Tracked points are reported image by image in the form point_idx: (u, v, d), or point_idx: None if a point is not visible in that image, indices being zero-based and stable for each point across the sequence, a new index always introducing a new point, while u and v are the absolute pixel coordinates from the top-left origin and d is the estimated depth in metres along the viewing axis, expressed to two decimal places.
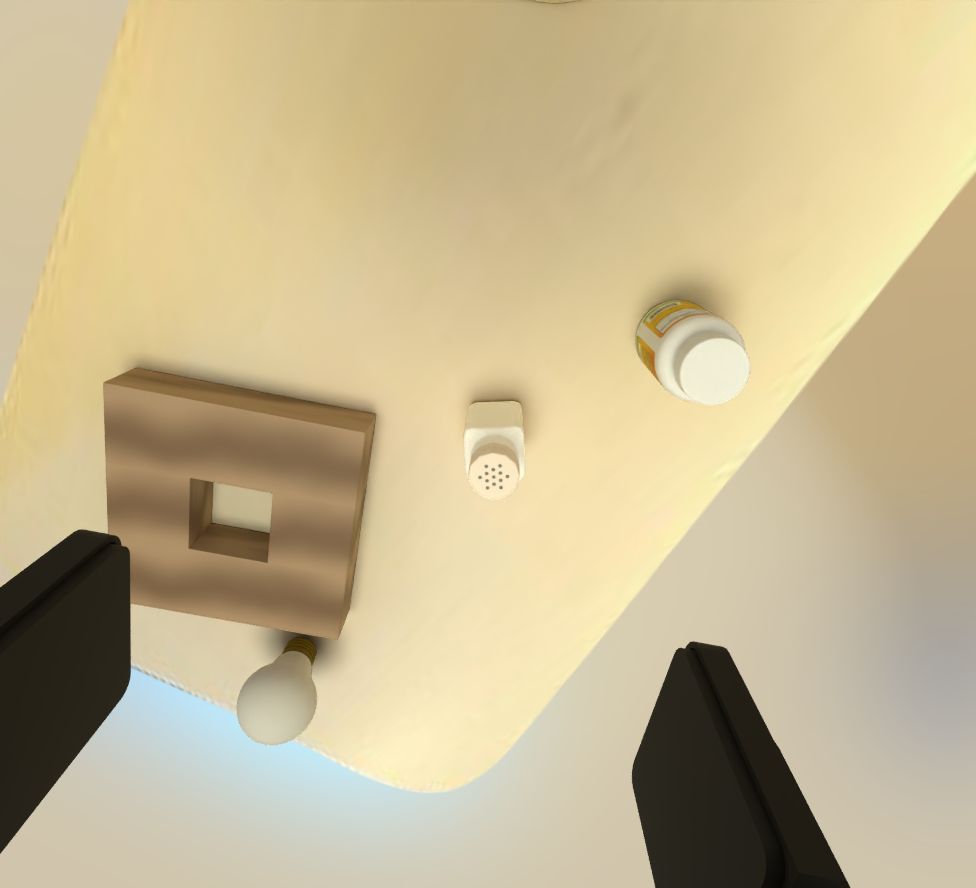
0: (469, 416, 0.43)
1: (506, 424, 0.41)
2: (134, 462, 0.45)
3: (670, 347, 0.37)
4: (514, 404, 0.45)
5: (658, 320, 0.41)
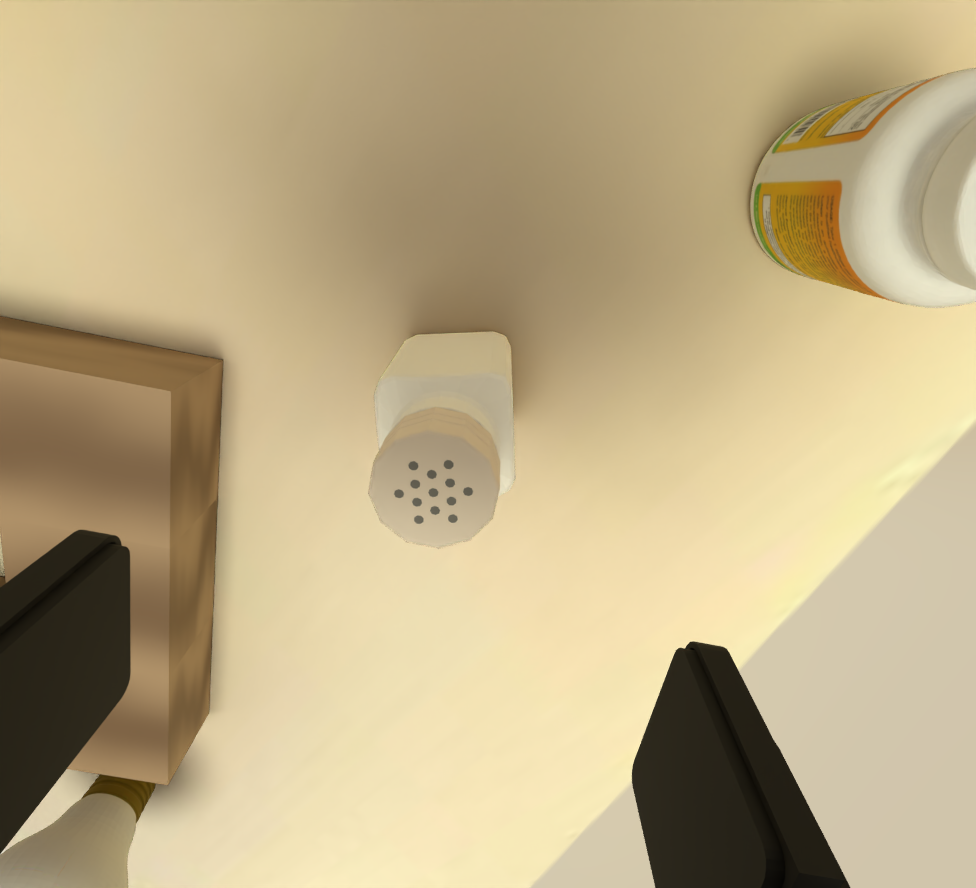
0: (396, 357, 0.20)
1: (471, 369, 0.18)
2: None
3: (901, 150, 0.14)
4: (494, 336, 0.22)
5: (828, 122, 0.17)
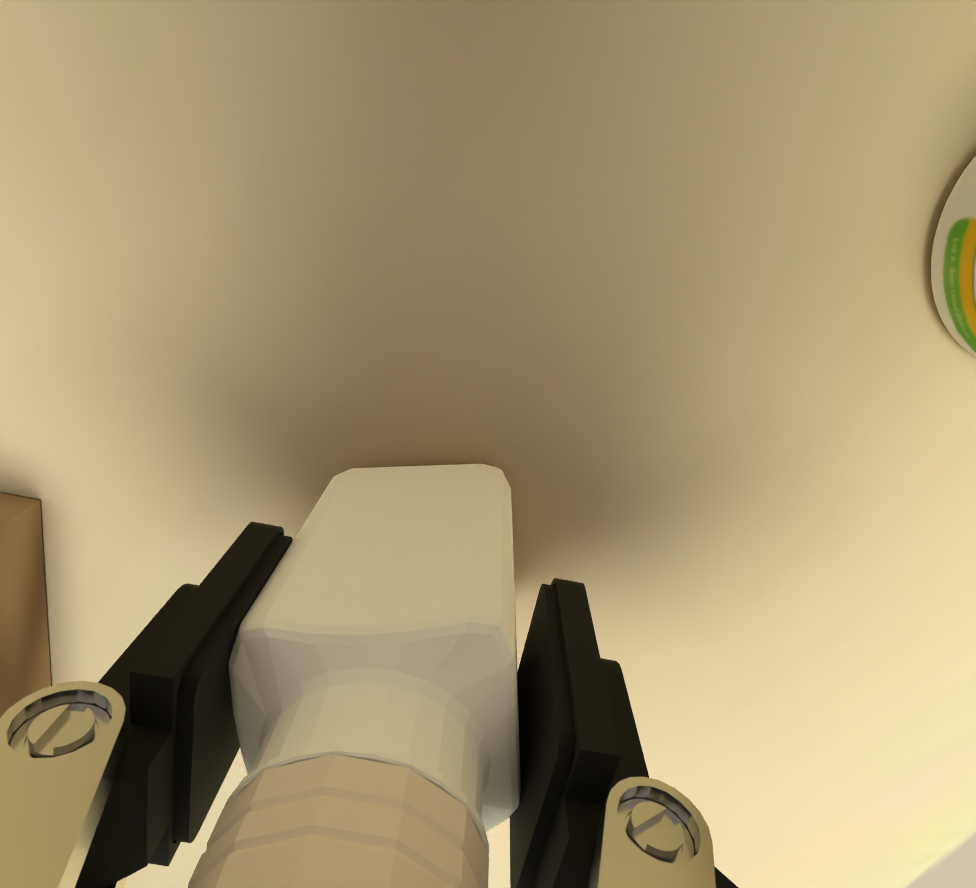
0: (300, 536, 0.11)
1: (431, 608, 0.09)
2: None
3: None
4: (483, 479, 0.13)
5: None
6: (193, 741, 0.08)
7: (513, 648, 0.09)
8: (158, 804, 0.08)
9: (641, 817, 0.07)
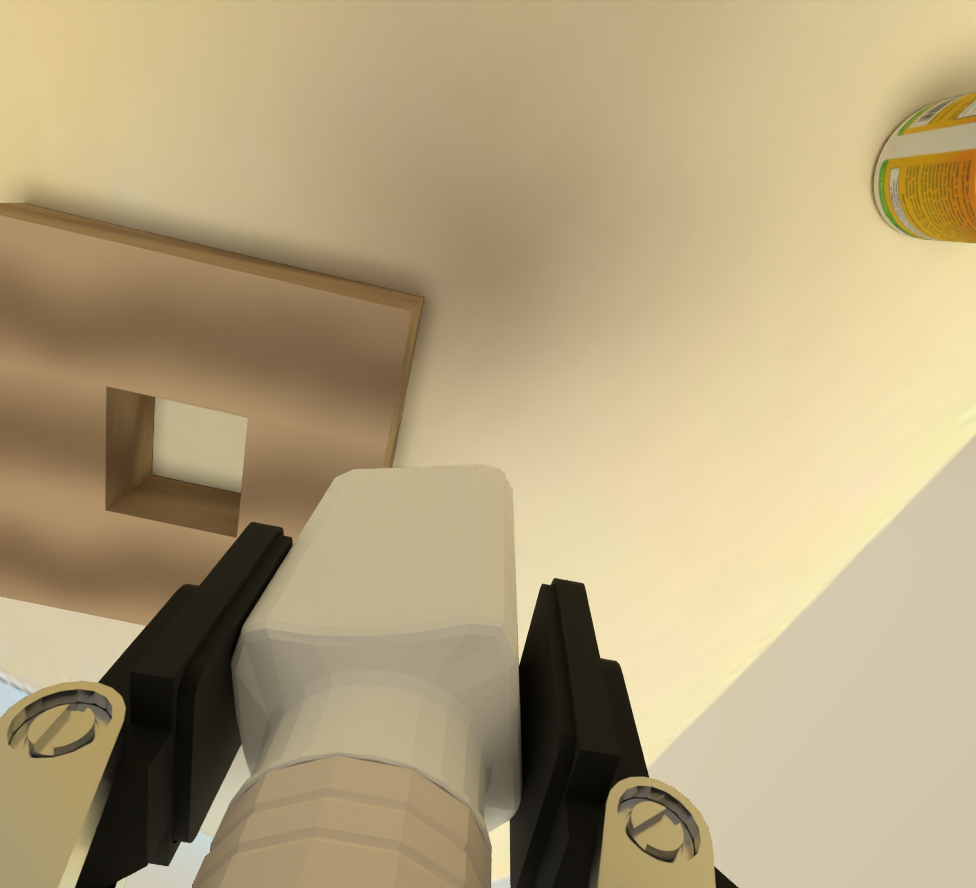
0: (301, 537, 0.11)
1: (433, 609, 0.09)
2: (10, 355, 0.26)
3: None
4: (484, 480, 0.13)
5: (957, 109, 0.22)
6: (193, 741, 0.08)
7: (515, 649, 0.09)
8: (158, 804, 0.08)
9: (641, 817, 0.07)
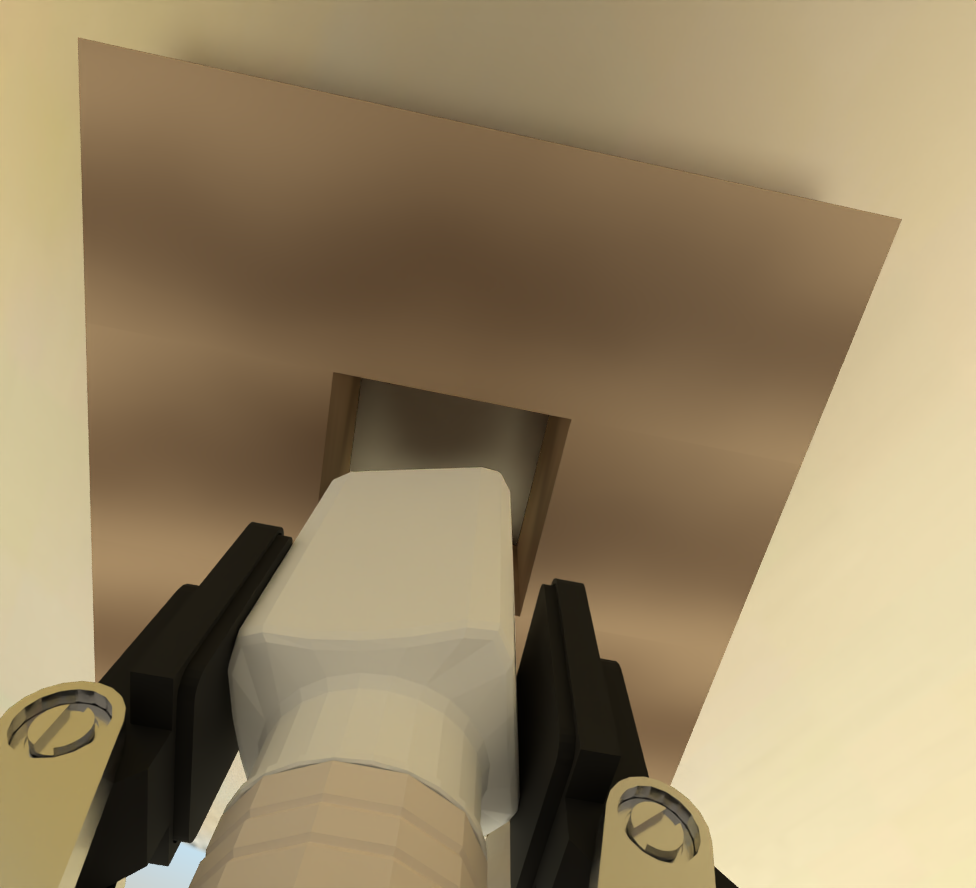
0: (299, 540, 0.11)
1: (430, 613, 0.09)
2: (171, 323, 0.15)
3: None
4: (482, 482, 0.13)
5: None
6: (193, 741, 0.08)
7: (512, 653, 0.09)
8: (158, 804, 0.08)
9: (641, 817, 0.07)
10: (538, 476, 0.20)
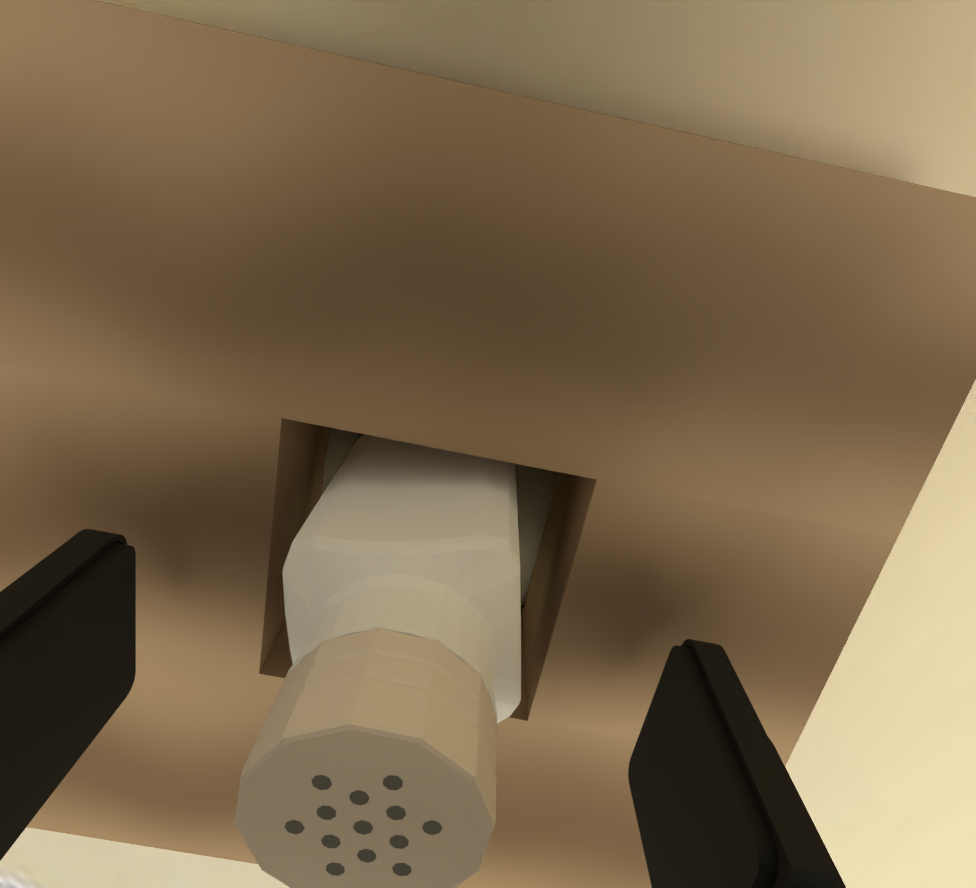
0: (334, 480, 0.13)
1: (451, 530, 0.10)
2: (64, 354, 0.11)
3: None
4: None
5: None
6: None
7: (518, 565, 0.10)
8: None
9: None
10: (549, 535, 0.16)
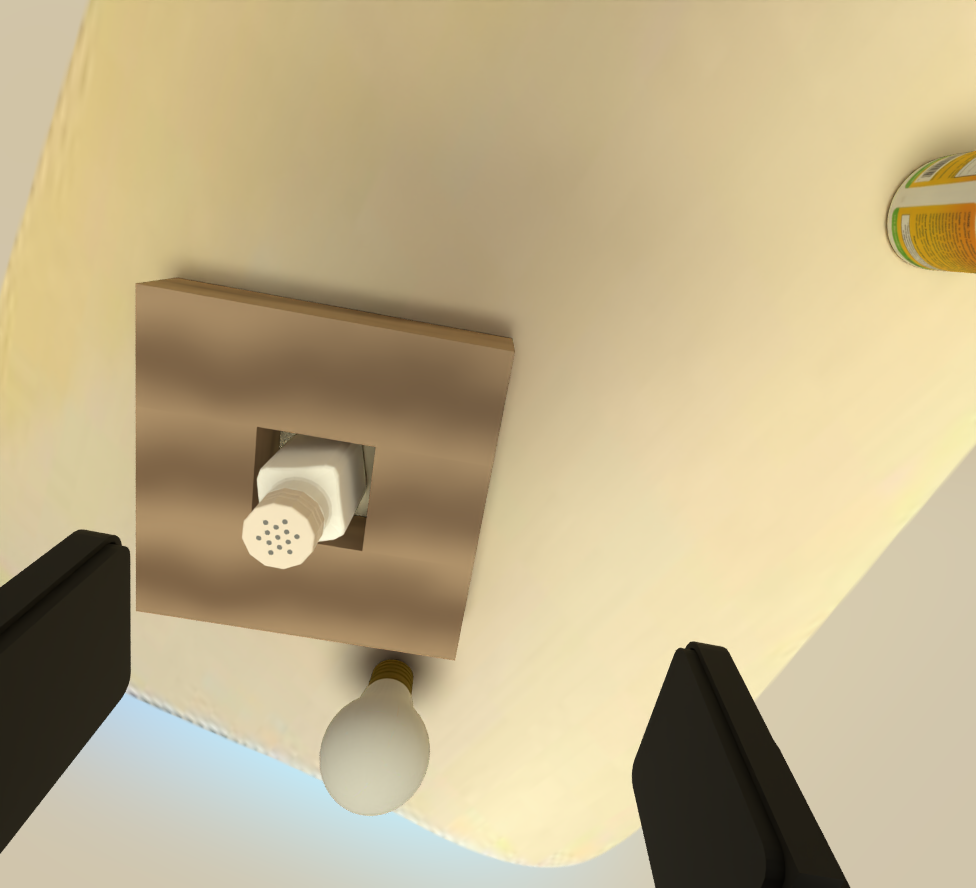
0: (278, 451, 0.33)
1: (315, 463, 0.30)
2: (177, 405, 0.31)
3: None
4: None
5: (954, 168, 0.28)
6: None
7: (338, 474, 0.30)
8: None
9: None
10: None
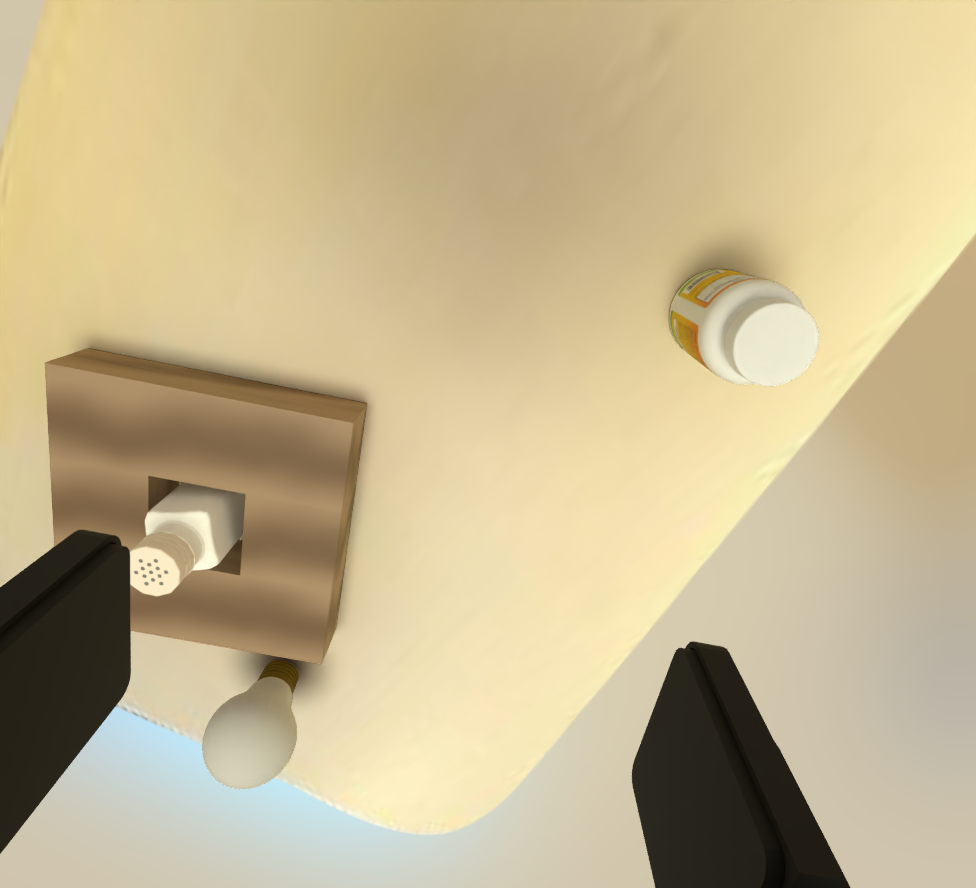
0: (169, 494, 0.40)
1: (191, 508, 0.37)
2: (83, 457, 0.38)
3: (718, 318, 0.31)
4: None
5: (699, 289, 0.34)
6: None
7: (210, 518, 0.37)
8: None
9: None
10: None
